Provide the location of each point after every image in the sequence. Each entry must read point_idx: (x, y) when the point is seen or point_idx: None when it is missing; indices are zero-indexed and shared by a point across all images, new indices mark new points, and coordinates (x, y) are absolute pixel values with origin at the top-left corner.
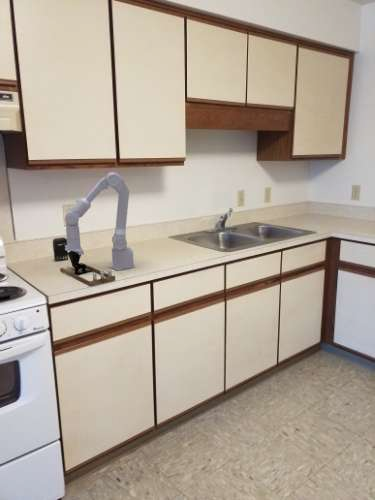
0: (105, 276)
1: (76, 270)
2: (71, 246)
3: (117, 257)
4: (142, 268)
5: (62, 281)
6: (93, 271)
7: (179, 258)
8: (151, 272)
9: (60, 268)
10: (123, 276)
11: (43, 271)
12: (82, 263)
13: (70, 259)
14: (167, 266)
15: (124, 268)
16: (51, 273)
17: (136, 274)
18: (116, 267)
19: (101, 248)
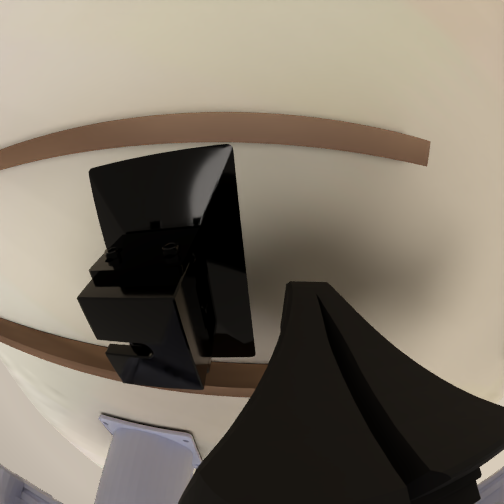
0: (7, 324)
1: (141, 244)
2: None
3: (104, 479)
4: (104, 445)
5: (37, 23)
6: None
7: None
8: (52, 423)
9: (421, 139)
10: (16, 367)
11: (492, 47)
12: (160, 382)
13: (383, 354)
14: (102, 461)
15: (112, 433)
16: (397, 23)
17: (36, 399)
18: (123, 431)
19: None
